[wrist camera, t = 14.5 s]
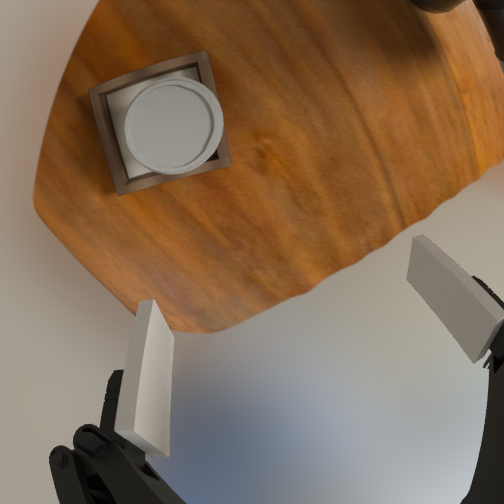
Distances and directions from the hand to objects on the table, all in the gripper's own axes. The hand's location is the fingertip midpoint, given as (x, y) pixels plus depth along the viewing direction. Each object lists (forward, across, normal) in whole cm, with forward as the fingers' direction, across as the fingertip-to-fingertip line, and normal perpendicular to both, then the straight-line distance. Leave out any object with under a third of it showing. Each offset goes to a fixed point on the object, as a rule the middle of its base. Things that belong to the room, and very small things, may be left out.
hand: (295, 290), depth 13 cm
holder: (+29, -9, +8) cm, 31 cm away
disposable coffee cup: (+28, -6, +7) cm, 29 cm away
